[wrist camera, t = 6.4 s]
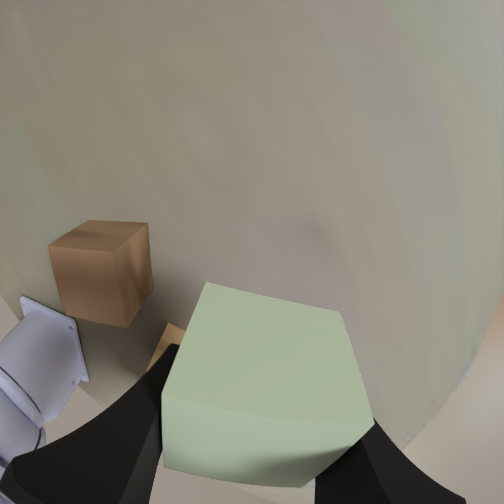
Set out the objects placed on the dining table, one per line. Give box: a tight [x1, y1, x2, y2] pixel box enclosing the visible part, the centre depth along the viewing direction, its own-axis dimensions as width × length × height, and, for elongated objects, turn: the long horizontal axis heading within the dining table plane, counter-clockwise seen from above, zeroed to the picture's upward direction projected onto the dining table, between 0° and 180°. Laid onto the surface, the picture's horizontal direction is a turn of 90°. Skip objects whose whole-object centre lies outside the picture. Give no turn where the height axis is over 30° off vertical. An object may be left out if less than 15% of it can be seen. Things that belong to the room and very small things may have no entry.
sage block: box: [162, 282, 375, 487], centre depth 8 cm, size 5×5×5 cm
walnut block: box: [48, 220, 154, 329], centre depth 16 cm, size 5×5×5 cm
